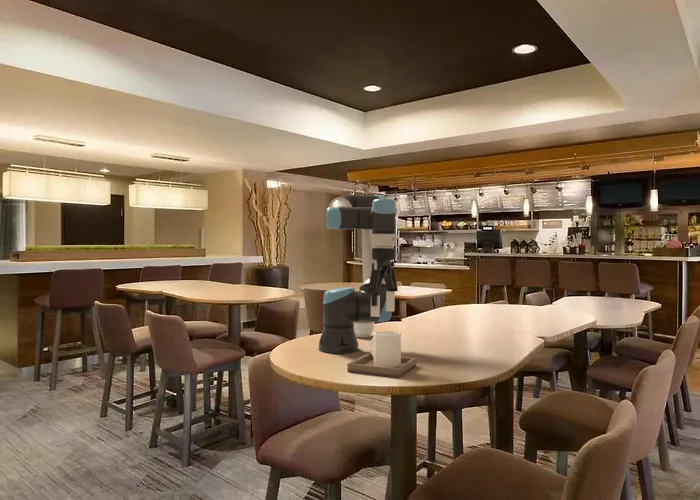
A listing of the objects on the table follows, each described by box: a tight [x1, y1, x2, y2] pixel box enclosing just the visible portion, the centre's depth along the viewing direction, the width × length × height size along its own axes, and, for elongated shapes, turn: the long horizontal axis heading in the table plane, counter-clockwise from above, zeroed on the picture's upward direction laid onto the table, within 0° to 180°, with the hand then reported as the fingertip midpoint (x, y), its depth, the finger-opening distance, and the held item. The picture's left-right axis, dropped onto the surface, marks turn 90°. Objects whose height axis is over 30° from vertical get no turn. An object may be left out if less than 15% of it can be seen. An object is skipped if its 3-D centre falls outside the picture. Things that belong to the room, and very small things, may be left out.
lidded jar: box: [354, 322, 376, 339], centre depth 219 cm, size 11×11×9 cm
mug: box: [370, 330, 402, 368], centre depth 161 cm, size 9×12×11 cm
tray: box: [346, 353, 417, 379], centre depth 160 cm, size 17×17×2 cm
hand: (383, 313), depth 161 cm, fingers open, 13 cm apart
